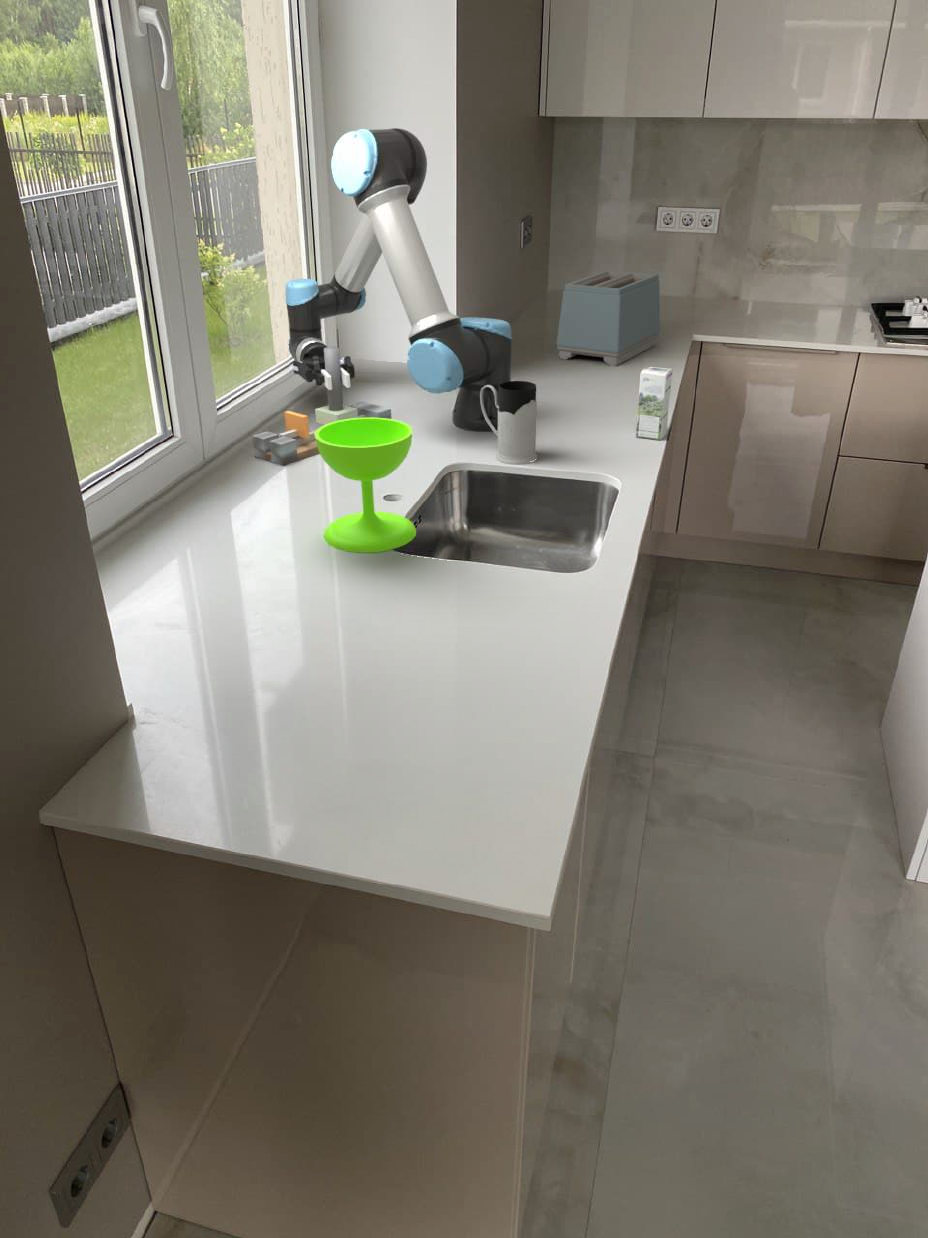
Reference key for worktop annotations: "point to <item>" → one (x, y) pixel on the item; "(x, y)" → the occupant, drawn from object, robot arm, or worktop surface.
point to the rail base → (303, 439)
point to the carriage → (334, 392)
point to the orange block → (295, 425)
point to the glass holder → (515, 421)
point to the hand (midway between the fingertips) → (339, 382)
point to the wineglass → (366, 480)
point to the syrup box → (653, 403)
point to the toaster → (609, 316)
